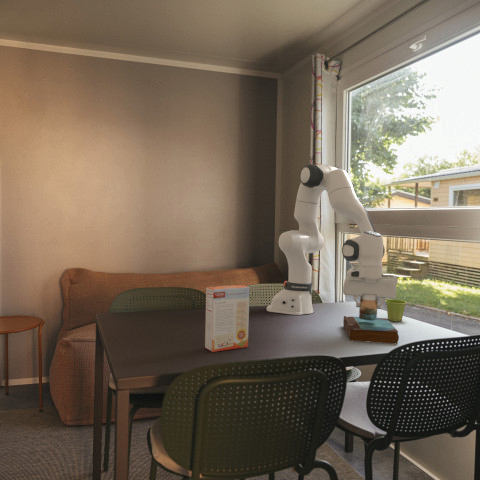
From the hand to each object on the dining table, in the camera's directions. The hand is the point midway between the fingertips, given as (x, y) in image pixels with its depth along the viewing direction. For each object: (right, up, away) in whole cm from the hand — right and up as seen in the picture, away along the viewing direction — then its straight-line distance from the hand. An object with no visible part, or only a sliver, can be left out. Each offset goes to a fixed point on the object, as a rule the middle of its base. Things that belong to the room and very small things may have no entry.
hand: (368, 307), depth 177 cm
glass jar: (0, -4, 0) cm, 4 cm away
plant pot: (+20, -10, +29) cm, 37 cm away
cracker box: (-55, -10, -25) cm, 61 cm away
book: (0, -11, 0) cm, 11 cm away
